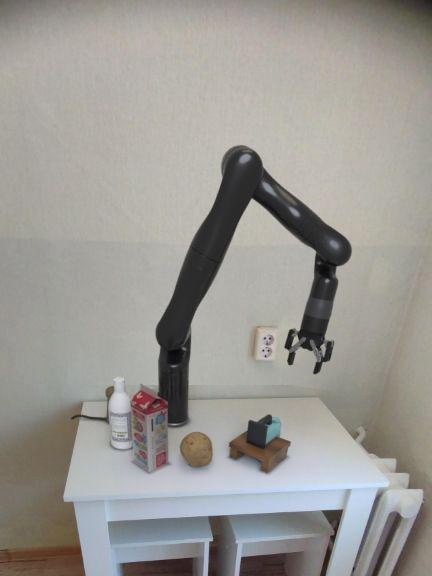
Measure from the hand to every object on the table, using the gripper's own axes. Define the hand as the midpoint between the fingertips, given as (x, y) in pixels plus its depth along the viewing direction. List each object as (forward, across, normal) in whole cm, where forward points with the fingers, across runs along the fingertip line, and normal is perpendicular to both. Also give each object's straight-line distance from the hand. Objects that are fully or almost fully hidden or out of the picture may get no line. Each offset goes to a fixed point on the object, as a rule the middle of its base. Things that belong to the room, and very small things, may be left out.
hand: (302, 369), depth 139 cm
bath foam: (+25, -31, -42) cm, 58 cm away
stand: (+21, +3, -23) cm, 31 cm away
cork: (+25, -43, -33) cm, 60 cm away
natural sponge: (+24, -8, -37) cm, 45 cm away
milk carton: (+25, -18, -45) cm, 54 cm away
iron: (+16, +3, -20) cm, 26 cm away
